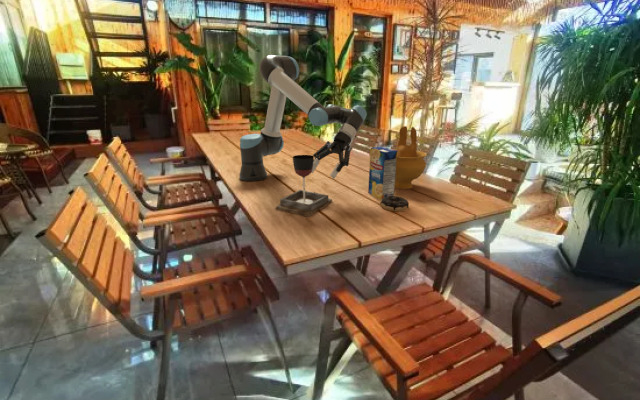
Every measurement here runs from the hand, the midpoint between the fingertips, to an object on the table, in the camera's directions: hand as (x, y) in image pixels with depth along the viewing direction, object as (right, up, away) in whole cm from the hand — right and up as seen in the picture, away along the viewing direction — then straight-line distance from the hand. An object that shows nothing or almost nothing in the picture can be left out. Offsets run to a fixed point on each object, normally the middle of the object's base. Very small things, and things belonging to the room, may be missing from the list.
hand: (321, 174), depth 146 cm
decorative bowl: (+42, -4, +25) cm, 49 cm away
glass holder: (-7, -14, -2) cm, 16 cm away
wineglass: (-7, -12, -2) cm, 15 cm away
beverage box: (+28, -9, +10) cm, 32 cm away
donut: (+32, -15, -4) cm, 35 cm away
